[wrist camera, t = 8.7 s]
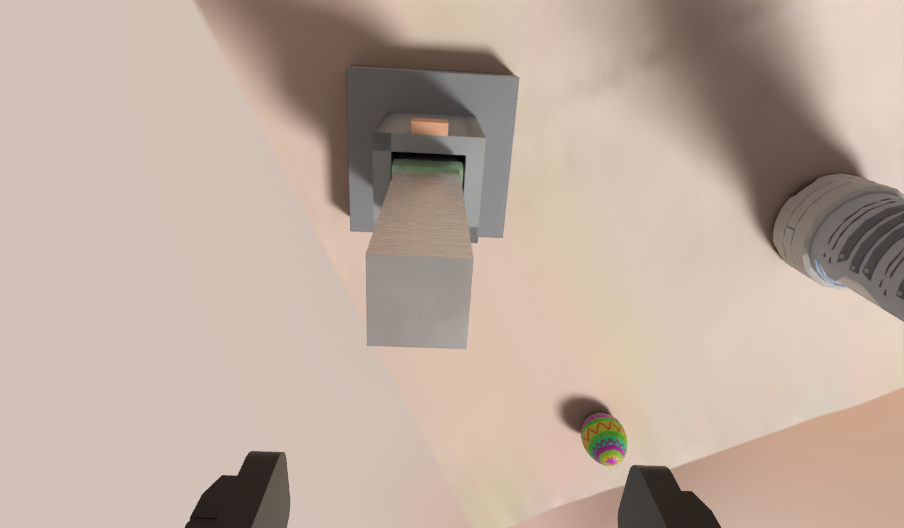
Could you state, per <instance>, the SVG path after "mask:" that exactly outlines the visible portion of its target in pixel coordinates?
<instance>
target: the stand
mask: <svg viewBox="0 0 904 528" xmlns="http://www.w3.org/2000/svg"><path fill="white" fill-rule="evenodd" d="M518 85H519V77H518V76H516V75H508V74H491V73H474V72H456V71H439V70H422V69H405V68H388V67H371V66H354V65H351V66H348V67H346V88H347V125H348V162H349V199H350V231H357V232H373V231H374V229H375V226H376V223H377V220H378V217H379V214H380V211H381V208H382V205H383V203H384V200H385V197H386V194H387V191H388V188H389V185H390V182H391V179H392V164H393V161H394V159H399V156H400V153H401V152H412V153H431V154H451V155H457V156H458V162H462V164H463V183H462V188H463V195H464V201H465V208H466V214H467V220H468V227H469V233H470V240H471V243H477V241H478V237H492V238H503V231H504V221H505V211H506V201H507V192H508V182H509V172H510V163H511V153H512V143H513V134H514V124H515V114H516V105H517V95H518Z"/></svg>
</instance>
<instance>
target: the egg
mask: <svg viewBox="0 0 904 528" xmlns="http://www.w3.org/2000/svg"><path fill="white" fill-rule="evenodd" d="M581 439H582V443H583V445H584V447H585V449H586V451H587V452H588V454H589V455H590V456H591V457H592V458H593V459H594V460H595V461H597V462H598V463H600V464H602V465H605V466H615V465H617V464H619V463H620V462H621V461H622V460H623V458H624V457H625V454H626V451H627V437H626V434H625V431H624V429H623V427H622V425H621V424H620V422H619V421H618V420H617V419H616V418H614V417H613V416H611V415H609V414H606V413H601V412H600V413H594V414H592V415H590V416H588V417H587V418H586V419H585V421H584V423H583V425H582V428H581Z"/></svg>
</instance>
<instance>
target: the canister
mask: <svg viewBox="0 0 904 528" xmlns="http://www.w3.org/2000/svg"><path fill="white" fill-rule="evenodd" d="M773 242H774V246H776V248H777V250H778V252H779V254H780V256H781V257H782V258H783V260H784V261H785V263H787V264H788V265H790V266H791V267H793V268H795V269H796V270H798V271H799V272H801V273H802V274H804V275H805V276H807V277H809V278H811V279H812V280H814V281H815V282H817V283H818V284H820V285H821V286H823V287H828V288H834V289H840V290H845V289H851V290H853V291H854V292H856V293H858V294H859V295H861V296H863V297H864V298H866V299H867V300H869V301H871V302H872V303H874V304H876V305H877V306H879V307H881V308H882V309H884V310H885V311H887V312H889V313H890V314H892V315H894V316H895V317H897V318H899V319H900V320H902V321H904V194H902V193H901V192H900V191H899V190H898V189H895V188H892V187H889V186H885V185H882V184H878V183H875V182H873V181H869V180H867V179H864V178H861V177H858V176H853V175H849V174H831V175H827V176H823V177H820V178H818V179H816V180H815V182H813V183H812V184H810V185H809V186H807V187H806V188H804V189H803V190H802V191H800V192H799V193H798V194H796V195H795V196H791V197H790V198H789V199H788V200H787V202H786V203H785V204H784V206H783V207H782V209H781V210H780V212H779V214H778V216H777V219H776V221H775V225H774V229H773Z"/></svg>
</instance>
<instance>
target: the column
mask: <svg viewBox="0 0 904 528" xmlns="http://www.w3.org/2000/svg"><path fill="white" fill-rule="evenodd" d="M462 183H463V164H462V162H458V156H457V155H451V154H431V153H412V152H401V153H400V156H399V159H394V161H393V164H392V179H391V182H390V185H389V188H388V191H387V194H386V197H385V200H384V203H383V205H382V208H381V211H380V214H379V217H378V220H377V223H376V226H375V229H374V231H373V234H372V237H371V240H370V243H369V246H368V249H367V252H366V307H367V346H392V347H421V348H450V349H466V346H467V333H468V321H469V308H470V295H471V283H472V270H473V253H472V246H471V240H470V233H469V227H468V220H467V214H466V208H465V201H464V195H463V188H462Z"/></svg>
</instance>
